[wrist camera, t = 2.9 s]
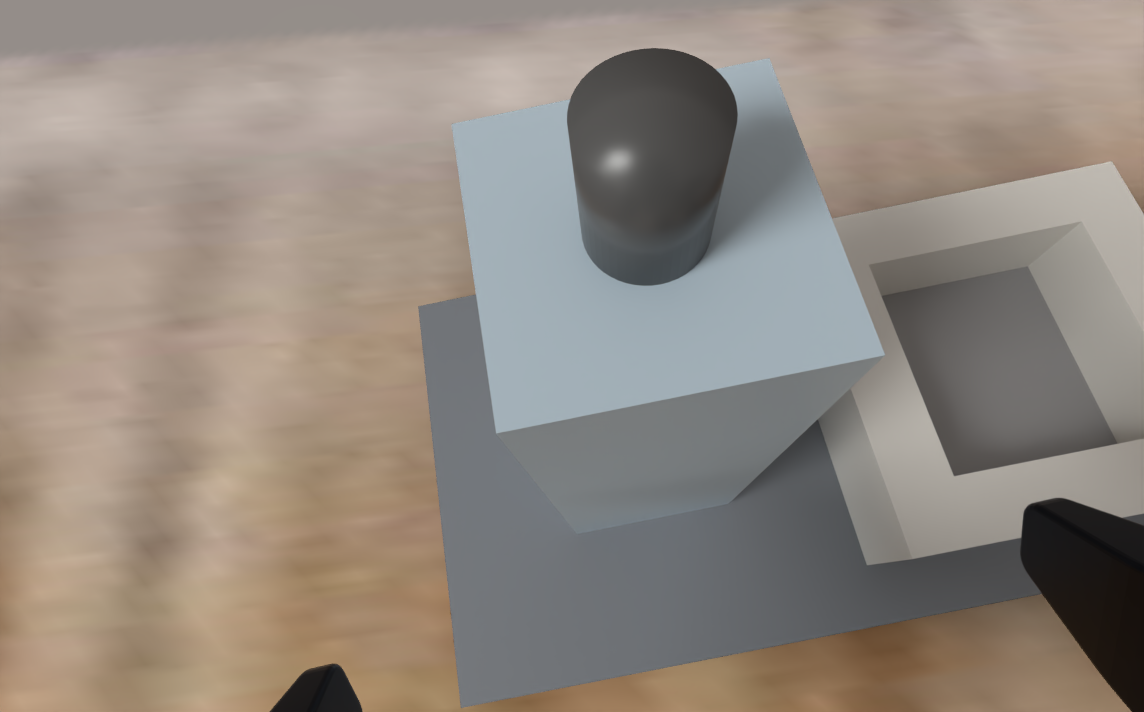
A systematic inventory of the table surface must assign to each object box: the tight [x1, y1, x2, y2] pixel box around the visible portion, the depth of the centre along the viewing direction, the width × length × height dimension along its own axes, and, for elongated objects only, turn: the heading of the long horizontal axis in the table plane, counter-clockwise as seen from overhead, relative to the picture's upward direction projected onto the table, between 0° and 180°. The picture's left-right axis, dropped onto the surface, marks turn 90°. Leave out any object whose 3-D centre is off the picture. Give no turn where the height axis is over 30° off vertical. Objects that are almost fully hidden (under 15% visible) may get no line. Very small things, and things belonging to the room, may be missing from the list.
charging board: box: [418, 295, 1144, 708], centre depth 20 cm, size 22×12×1 cm, turn 100°
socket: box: [818, 161, 1144, 565], centre depth 18 cm, size 9×9×3 cm
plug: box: [452, 48, 885, 534], centre depth 13 cm, size 4×4×14 cm
